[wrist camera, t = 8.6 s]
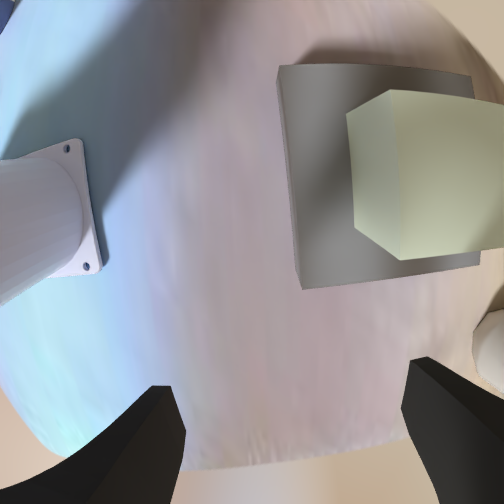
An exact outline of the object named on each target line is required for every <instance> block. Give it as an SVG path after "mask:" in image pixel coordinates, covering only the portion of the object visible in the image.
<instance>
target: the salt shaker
mask: <svg viewBox="0 0 504 504" xmlns="http://www.w3.org/2000/svg"><path fill="white" fill-rule="evenodd" d="M472 354H473V358H474V362H475V366H476V370H477V373H478V374H479V376H480V377H481V378H482V379H484V380H485V381H486V382H488V383H489V384H490V385H492V386H493V387H495V388H496V389H498V390H499V391H500V392H502V393H503V394H504V309H501V310H497V311H493V312H488V313H487V315H486V316H485V317H484V319H483V320H482V321H481V323H480V324H479V325H478V327H477V328H476V329H475V331H474V332H473V343H472Z"/></svg>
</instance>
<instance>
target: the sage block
mask: <svg viewBox="0 0 504 504" xmlns="http://www.w3.org/2000/svg"><path fill="white" fill-rule="evenodd" d="M346 119H347V128H348V137H349V148H350V159H351V172H352V186H353V204H354V228H356V229H357V230H359V231H360V232H361V233H363V234H364V235H366V236H367V237H368V238H370V239H371V240H373V241H374V242H375V243H377V244H378V245H380V246H381V247H382V248H384V249H385V250H386V251H388V252H389V253H390V254H392V255H393V256H395V257H396V258H397V259H399V260H408V259H417V258H425V257H434V256H442V255H450V254H458V253H466V252H474V251H481V250H489V249H496V248H503V247H504V105H502V104H497V103H492V102H487V101H482V100H476V99H470V98H464V97H458V96H451V95H444V94H436V93H427V92H417V91H406V90H392V89H390V90H388V91H386V92H384V93H383V94H381V95H379V96H377V97H375V98H373V99H372V100H370V101H368V102H366V103H364V104H363V105H361V106H359V107H357V108H356V109H354V110H352V111H350V112H348V113H347V114H346Z"/></svg>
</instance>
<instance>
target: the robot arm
mask: <svg viewBox="0 0 504 504" xmlns="http://www.w3.org/2000/svg"><path fill="white" fill-rule="evenodd" d="M68 145H69V146H70V151H69V152H67V147H68ZM86 262H87V263H88V264H89V265H90V269H89V268H87V266H86ZM102 267H103V263H102V259H101V254H100V250H99V245H98V240H97V235H96V230H95V225H94V219H93V213H92V208H91V201H90V195H89V188H88V181H87V174H86V166H85V157H84V147H83V142H82V141H81V140H80V139H78V138H73V139H70V140H67V141H64V142H61V143H58V144H55V145H52V146H49V147H46V148H43V149H41V150H38V151H35V152H33V153H30V154H27V155H25V156H22V157H20V158H17V159H8V160H0V307H1V306H3V305H4V304H6V303H7V302H9V301H10V300H12V299H13V298H15V297H16V296H18V295H19V294H21V293H22V292H24V291H25V290H27V289H29V288H30V287H32V286H33V285H35V284H37V283H38V282H40V281H41V280H43V279H45V278H55V277H66V276H76V275H87V274H96V273H98V272H100V271H101V270H102ZM401 411H402V414H403V417H404V420H405V423H406V426H407V429H408V432H409V435H410V437H411V439H412V441H413V443H414V445H415V447H416V450H417V452H418V454H419V456H420V458H421V460H422V462H423V464H424V466H425V468H426V471H427V473H428V475H429V477H430V479H431V481H432V483H433V486H434V488H435V491H436V494H437V496H438V500H439V503H440V504H504V400H503V399H501V398H499V397H497V396H495V395H493V394H491V393H489V392H488V391H486V390H484V389H482V388H480V387H479V386H477V385H475V384H473V383H472V382H470V381H468V380H467V379H465V378H463V377H462V376H460V375H458V374H457V373H455V372H453V371H452V370H450V369H448V368H447V367H445V366H443V365H442V364H440V363H438V362H437V361H435V360H433V359H431V358H429V357H423V358H418V359H414V360H410V364H409V370H408V376H407V381H406V386H405V391H404V396H403V401H402V405H401ZM185 437H186V429H185V427H184V424H183V421H182V418H181V415H180V413H179V410H178V407H177V404H176V401H175V398H174V395H173V392H172V389H171V386H151V387H150V388H149V389H148V390H147V391H146V392H144V393H143V394H142V395H141V396H140V397H139V398H138V399H137V400H136V401H135V402H134V403H133V404H132V405H131V406H130V407H129V408H128V409H127V410H126V411H125V412H124V413H123V414H121V415H120V416H119V417H118V418H117V419H116V420H115V421H114V422H113V423H112V424H111V425H110V426H108V427H107V428H106V429H105V430H104V431H102V432H101V433H100V434H99V435H98V436H96V437H95V438H94V439H93V440H91V441H90V442H89V443H88V444H87V445H85V446H84V447H83V448H81V449H80V450H79V451H77V452H76V453H74V454H73V455H71V456H70V457H68V458H67V459H65V460H64V461H62V462H60V463H59V464H57V465H56V466H54V467H52V468H50V469H48V470H46V471H44V472H42V473H40V474H38V475H36V476H34V477H32V478H30V479H28V480H26V481H23V482H20V483H18V484H15V485H13V486H10V487H7V488H4V489H0V504H170V502H171V499H172V495H173V492H174V488H175V484H176V480H177V477H178V474H179V470H180V466H181V463H182V459H183V452H184V445H185Z"/></svg>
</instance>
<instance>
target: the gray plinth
mask: <svg viewBox="0 0 504 504" xmlns="http://www.w3.org/2000/svg"><path fill="white" fill-rule="evenodd" d="M276 86H277V93H278V101H279V109H280V117H281V125H282V133H283V142H284V151H285V160H286V169H287V178H288V188H289V198H290V209H291V220H292V231H293V243H294V255H295V268H296V272H297V275H298V278H299V281H300V284H301V287H302V290H304V289H313V288H322V287H330V286H338V285H347V284H355V283H362V282H370V281H378V280H385V279H392V278H399V277H406V276H413V275H420V274H426V273H433V272H439V271H446V270H452V269H458V268H464V267H470V266H476V265H479V264H480V254H481V251H474V252H466V253H458V254H450V255H442V256H434V257H425V258H417V259H408V260H399V259H397V258H396V257H395V256H393V255H392V254H390V253H389V252H388V251H386V250H385V249H384V248H382V247H381V246H380V245H378V244H377V243H375V242H374V241H373V240H371V239H370V238H368V237H367V236H366V235H364V234H363V233H361V232H360V231H359V230H357V229H356V228H354V204H353V186H352V172H351V159H350V148H349V137H348V128H347V119H346V114H347V113H348V112H350V111H352V110H354V109H356V108H357V107H359V106H361V105H363V104H364V103H366V102H368V101H370V100H372V99H373V98H375V97H377V96H379V95H381V94H383V93H384V92H386V91H388V90H390V89H392V90H406V91H417V92H427V93H436V94H444V95H451V96H458V97H464V98H470V99H475V97H474V91H473V86H472V81H471V76H466V75H460V74H454V73H448V72H442V71H435V70H428V69H420V68H411V67H400V66H388V65H371V64H298V65H281V66H279V70H278V75H277V80H276Z"/></svg>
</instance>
